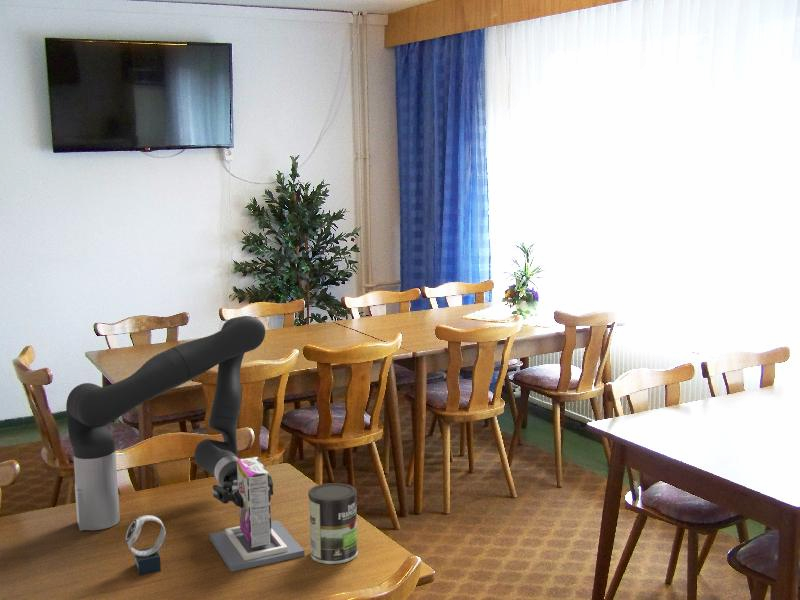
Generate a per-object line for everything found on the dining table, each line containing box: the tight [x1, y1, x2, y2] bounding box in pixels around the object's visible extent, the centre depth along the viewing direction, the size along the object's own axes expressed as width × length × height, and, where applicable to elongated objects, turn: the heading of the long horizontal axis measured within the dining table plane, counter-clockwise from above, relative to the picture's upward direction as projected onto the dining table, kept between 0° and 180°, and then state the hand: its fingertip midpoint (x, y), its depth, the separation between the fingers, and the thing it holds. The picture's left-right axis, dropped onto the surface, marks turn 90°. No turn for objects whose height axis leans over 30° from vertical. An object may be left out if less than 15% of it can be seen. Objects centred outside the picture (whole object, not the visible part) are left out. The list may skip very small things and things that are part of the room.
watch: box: [124, 514, 167, 576], centre depth 174 cm, size 6×8×11 cm
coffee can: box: [307, 482, 359, 565], centre depth 180 cm, size 10×10×14 cm
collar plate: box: [209, 519, 305, 573], centre depth 184 cm, size 16×18×2 cm
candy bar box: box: [237, 456, 272, 548], centre depth 183 cm, size 11×5×16 cm, turn 23°
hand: (254, 500), depth 182 cm, fingers closed on candy bar box, 5 cm apart
